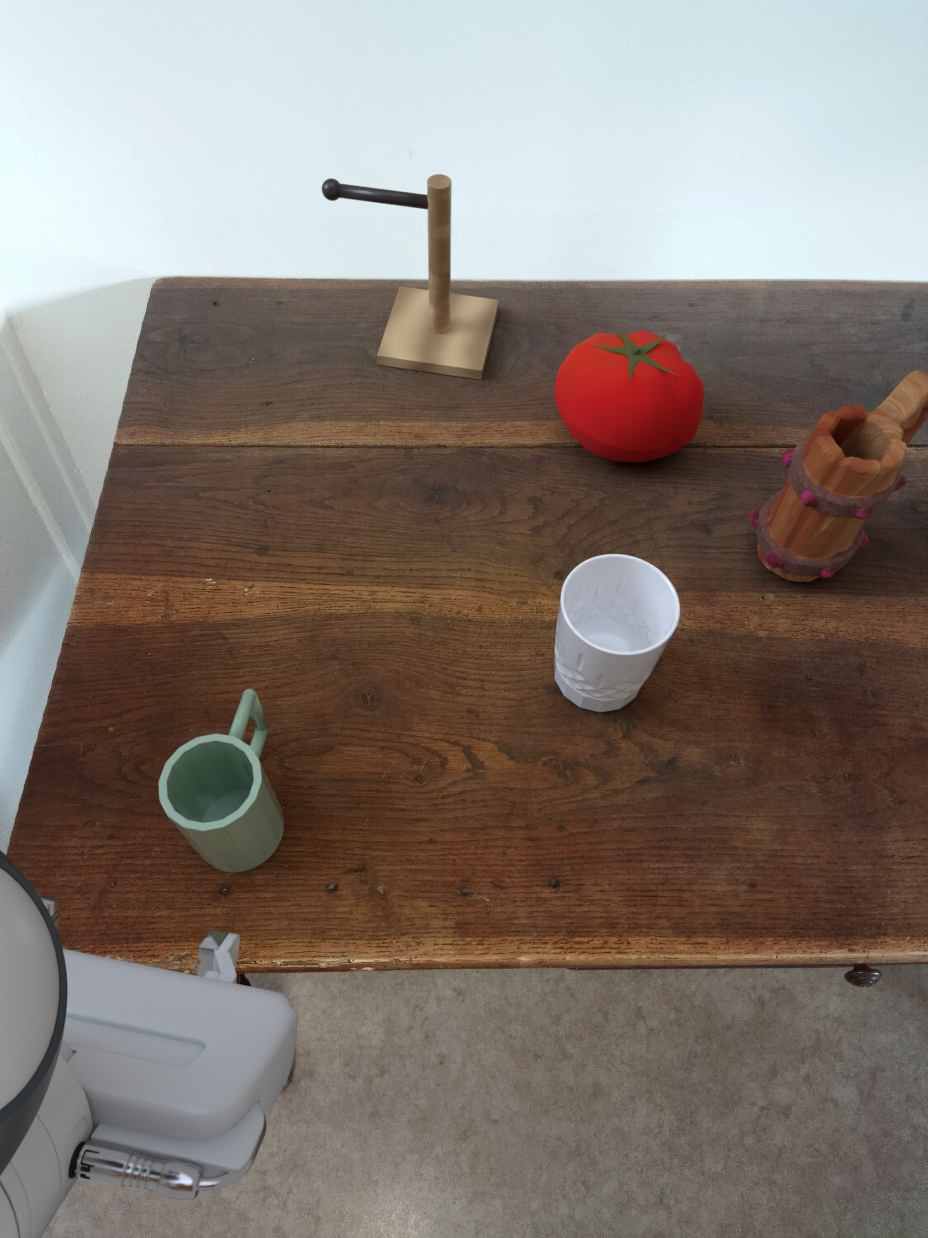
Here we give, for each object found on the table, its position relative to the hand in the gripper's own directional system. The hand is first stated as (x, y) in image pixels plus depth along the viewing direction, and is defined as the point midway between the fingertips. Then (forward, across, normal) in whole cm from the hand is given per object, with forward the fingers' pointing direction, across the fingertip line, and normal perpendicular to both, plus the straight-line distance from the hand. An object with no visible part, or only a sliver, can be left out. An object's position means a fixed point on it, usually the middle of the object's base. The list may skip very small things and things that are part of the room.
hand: (136, 925), depth 45 cm
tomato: (+44, -22, -26) cm, 56 cm away
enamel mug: (+17, 0, +1) cm, 17 cm away
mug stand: (+51, -1, -33) cm, 61 cm away
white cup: (+27, -23, -9) cm, 37 cm away
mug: (+38, -39, -21) cm, 59 cm away
